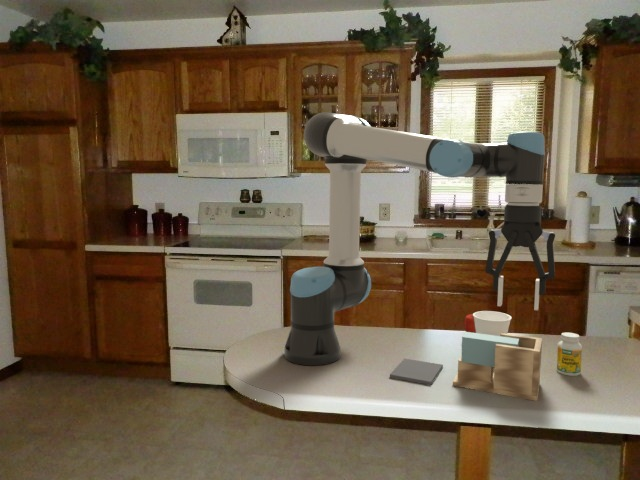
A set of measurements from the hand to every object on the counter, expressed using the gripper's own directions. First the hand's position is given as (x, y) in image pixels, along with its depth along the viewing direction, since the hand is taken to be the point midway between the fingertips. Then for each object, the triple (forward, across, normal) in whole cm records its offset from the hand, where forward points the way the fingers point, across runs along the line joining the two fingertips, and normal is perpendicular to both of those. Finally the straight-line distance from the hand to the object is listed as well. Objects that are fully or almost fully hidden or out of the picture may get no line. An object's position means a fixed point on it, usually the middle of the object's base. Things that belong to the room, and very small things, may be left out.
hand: (517, 306), depth 112 cm
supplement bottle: (+19, +11, +16) cm, 27 cm away
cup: (+19, -8, +20) cm, 29 cm away
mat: (+19, -22, -1) cm, 29 cm away
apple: (+19, -14, +32) cm, 40 cm away
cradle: (+19, -4, 0) cm, 19 cm away
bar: (+14, -6, 0) cm, 15 cm away
